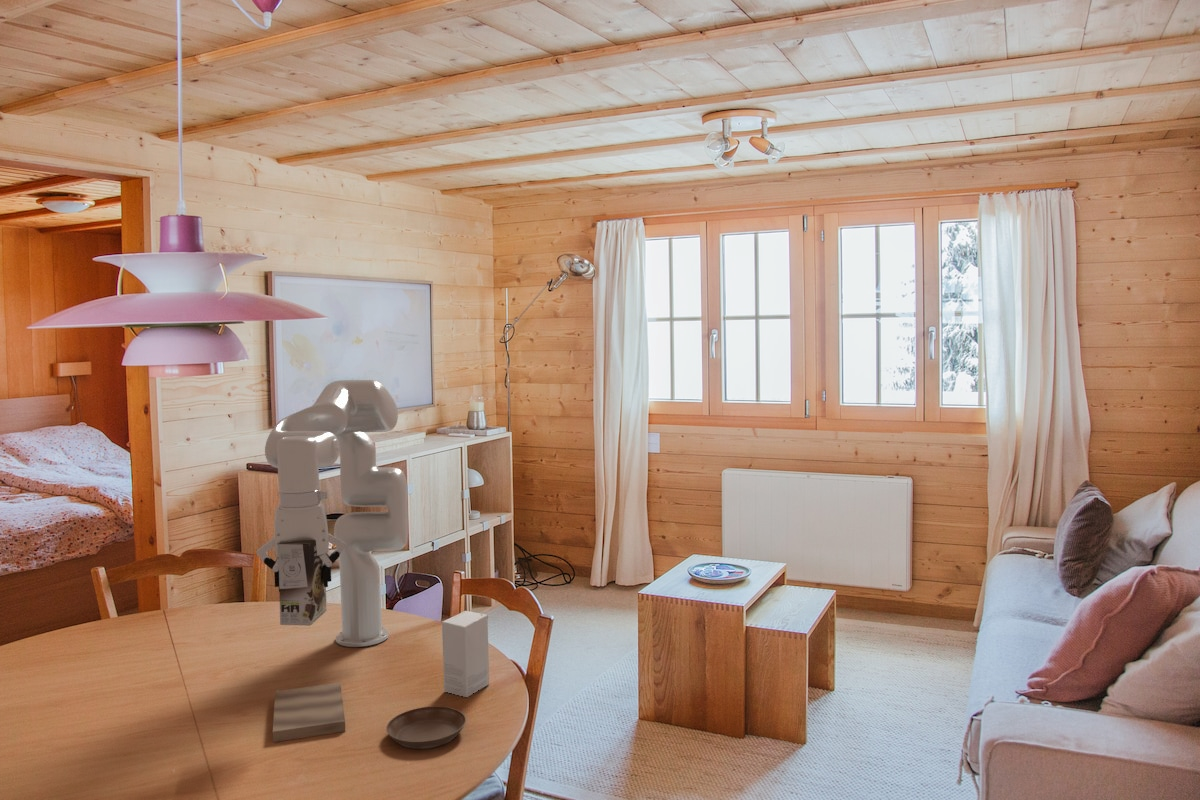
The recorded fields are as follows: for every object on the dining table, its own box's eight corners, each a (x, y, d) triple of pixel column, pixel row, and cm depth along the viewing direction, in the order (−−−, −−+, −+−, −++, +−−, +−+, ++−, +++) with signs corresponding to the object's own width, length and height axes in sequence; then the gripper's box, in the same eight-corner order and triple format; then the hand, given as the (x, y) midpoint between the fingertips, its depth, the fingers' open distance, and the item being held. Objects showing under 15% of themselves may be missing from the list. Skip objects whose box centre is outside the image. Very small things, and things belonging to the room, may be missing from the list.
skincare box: (467, 679, 197) (465, 609, 196) (491, 685, 194) (490, 614, 193) (442, 693, 190) (440, 620, 189) (466, 699, 187) (464, 625, 186)
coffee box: (312, 626, 174) (309, 543, 172) (279, 625, 174) (276, 543, 173) (328, 610, 183) (325, 532, 182) (296, 610, 183) (294, 532, 182)
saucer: (389, 760, 162) (388, 745, 161) (384, 725, 176) (384, 712, 176) (472, 747, 166) (471, 733, 166) (460, 714, 180) (460, 701, 180)
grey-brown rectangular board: (275, 700, 188) (275, 691, 188) (340, 691, 192) (340, 682, 192) (273, 742, 169) (272, 731, 169) (345, 731, 173) (345, 721, 173)
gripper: (345, 493, 183) (348, 578, 184) (252, 499, 177) (257, 587, 179) (346, 499, 176) (350, 588, 177) (251, 506, 170) (255, 597, 172)
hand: (303, 587), depth 178 cm, fingers closed on coffee box, 7 cm apart
